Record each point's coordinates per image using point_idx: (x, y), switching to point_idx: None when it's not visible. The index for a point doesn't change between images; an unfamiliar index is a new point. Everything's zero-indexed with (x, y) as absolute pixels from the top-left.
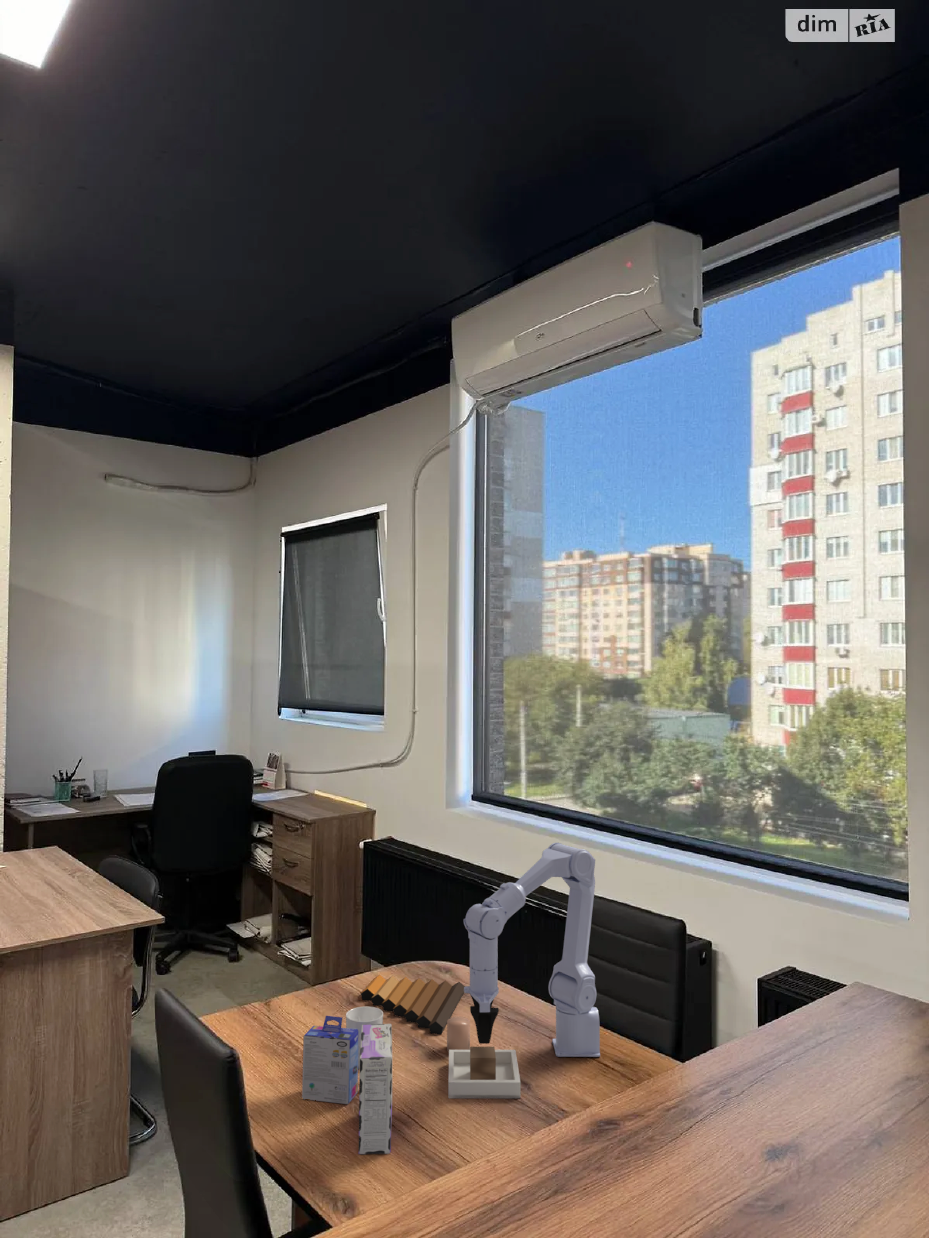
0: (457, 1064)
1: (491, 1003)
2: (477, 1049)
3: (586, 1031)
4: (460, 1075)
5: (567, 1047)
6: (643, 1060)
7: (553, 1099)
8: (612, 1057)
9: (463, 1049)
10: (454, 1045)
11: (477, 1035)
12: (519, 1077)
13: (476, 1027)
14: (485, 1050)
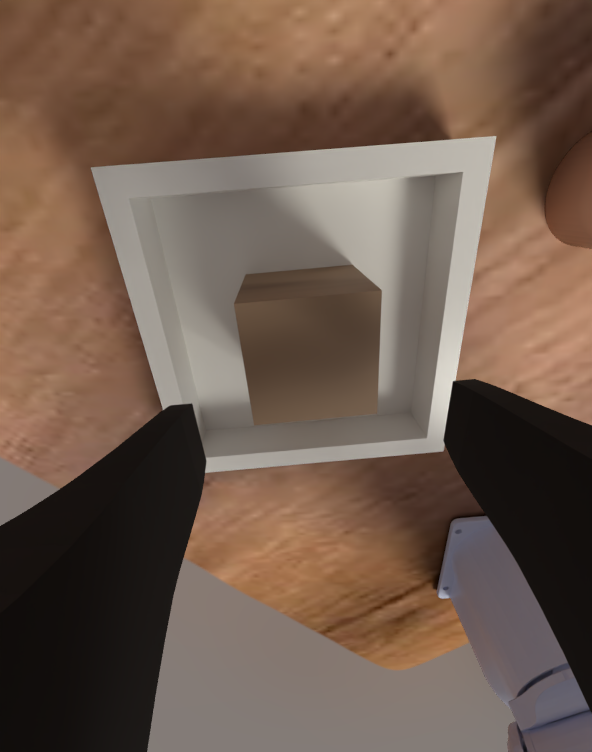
0: (423, 197)
1: (555, 630)
2: (345, 334)
3: (483, 640)
4: (315, 221)
5: (465, 559)
6: (411, 646)
7: (207, 512)
8: (432, 608)
9: (560, 219)
10: (588, 166)
11: (138, 430)
12: (220, 469)
13: (69, 484)
14: (331, 375)
